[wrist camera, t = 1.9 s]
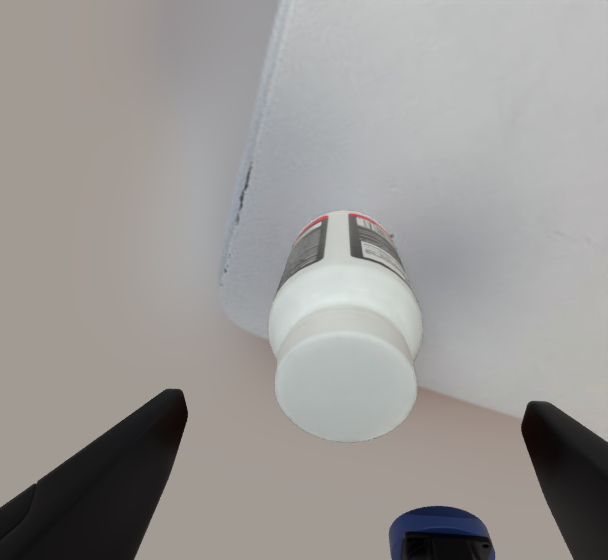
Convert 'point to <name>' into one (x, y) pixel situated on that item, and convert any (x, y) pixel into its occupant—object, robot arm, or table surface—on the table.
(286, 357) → the pill bottle
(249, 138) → the table surface
